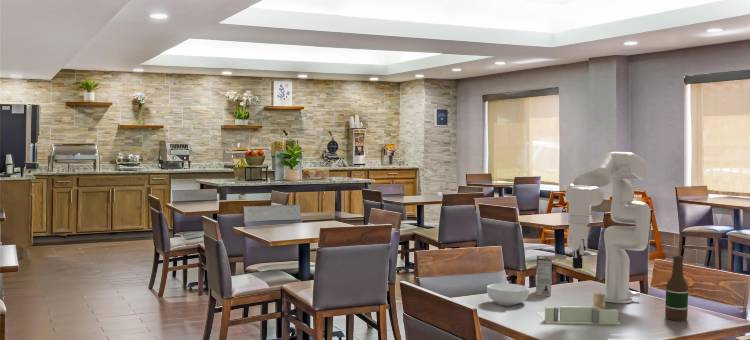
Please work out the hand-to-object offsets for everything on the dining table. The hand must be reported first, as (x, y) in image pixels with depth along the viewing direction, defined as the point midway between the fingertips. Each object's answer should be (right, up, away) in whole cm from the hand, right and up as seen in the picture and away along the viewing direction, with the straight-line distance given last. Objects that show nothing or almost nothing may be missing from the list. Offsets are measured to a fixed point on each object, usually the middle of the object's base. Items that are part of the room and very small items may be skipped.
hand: (577, 268), depth 267 cm
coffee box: (-3, -18, +43) cm, 47 cm away
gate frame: (0, -19, -1) cm, 19 cm away
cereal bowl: (-22, -18, +23) cm, 37 cm away
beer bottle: (+38, -20, +2) cm, 43 cm away
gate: (-1, -18, -6) cm, 19 cm away
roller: (+9, -19, +3) cm, 21 cm away
